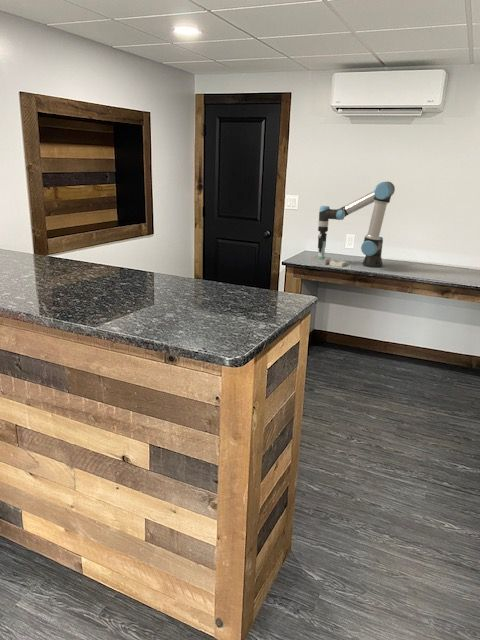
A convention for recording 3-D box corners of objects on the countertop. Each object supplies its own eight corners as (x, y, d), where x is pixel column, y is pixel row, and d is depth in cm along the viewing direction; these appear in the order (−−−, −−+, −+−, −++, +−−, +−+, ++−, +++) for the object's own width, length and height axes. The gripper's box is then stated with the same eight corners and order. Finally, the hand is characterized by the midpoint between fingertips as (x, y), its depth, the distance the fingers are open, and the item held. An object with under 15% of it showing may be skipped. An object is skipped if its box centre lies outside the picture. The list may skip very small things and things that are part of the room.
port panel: (330, 262, 405) (330, 256, 404) (325, 265, 395) (325, 259, 394) (316, 260, 411) (316, 255, 409) (310, 263, 401) (311, 257, 399)
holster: (345, 264, 399) (345, 261, 398) (341, 266, 390) (342, 263, 390) (333, 263, 403) (333, 259, 402) (329, 265, 395) (329, 262, 394)
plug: (324, 260, 403) (325, 241, 398) (322, 261, 400) (323, 242, 395) (319, 259, 405) (320, 240, 400) (317, 260, 402) (318, 241, 397)
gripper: (322, 224, 403) (320, 253, 410) (314, 227, 388) (312, 257, 396) (331, 225, 399) (329, 254, 407) (324, 227, 385) (322, 258, 392)
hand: (321, 255), depth 401 cm, fingers closed on plug, 4 cm apart
